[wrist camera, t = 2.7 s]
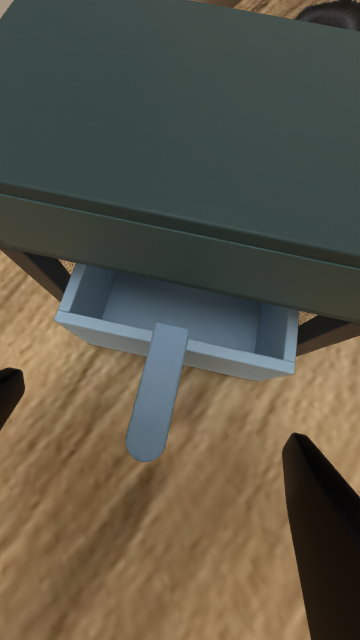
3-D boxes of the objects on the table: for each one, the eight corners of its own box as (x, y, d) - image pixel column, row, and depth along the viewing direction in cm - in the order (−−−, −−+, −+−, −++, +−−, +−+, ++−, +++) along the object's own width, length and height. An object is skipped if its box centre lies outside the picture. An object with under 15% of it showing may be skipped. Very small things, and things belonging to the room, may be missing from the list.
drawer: (249, 448, 16) (350, 512, 7) (67, 405, 16) (-60, 414, 7) (272, 256, 20) (355, 141, 11) (127, 226, 21) (93, 90, 12)
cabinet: (286, 360, 18) (511, 288, 6) (71, 313, 19) (-107, 160, 7) (296, 247, 21) (464, 48, 9) (109, 209, 21) (33, -30, 9)
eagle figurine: (286, 120, 24) (371, 72, 24) (278, 7, 19) (385, -54, 19) (244, 119, 29) (313, 80, 29) (230, 32, 24) (312, -15, 24)
